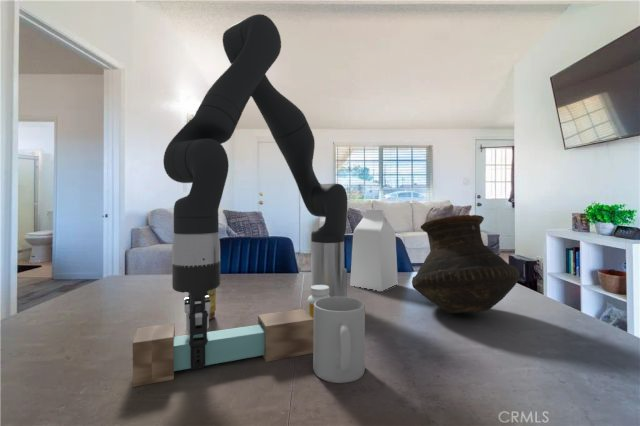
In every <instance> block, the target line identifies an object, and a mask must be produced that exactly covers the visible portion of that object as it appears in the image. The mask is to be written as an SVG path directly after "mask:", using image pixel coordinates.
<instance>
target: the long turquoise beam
mask: <svg viewBox="0 0 640 426" xmlns="http://www.w3.org/2000/svg"><path fill="white" fill-rule="evenodd" d="M198 337H203V334H197V335H194V336H193V338H198ZM207 339H208V342H207V345H205V366H210V365H215V364H220V363H228V362H232V361H237V360H238V361H239V360H243V359H249V358H255V357H259V356H260V357H261V356H263V355H265V328H264V326H263V325H262V324H260V325H258V324H255V325H249V326H247V325H246V326H241V327H233V328H226V329H219V330H212V331H207ZM189 341H190V334H184V335H177V336H176V335H175V337H174V372H176V371H177V372H178V371H182V370H188V369H192V368H191V347H190V345H189Z"/></svg>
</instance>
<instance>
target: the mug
mask: <svg viewBox="0 0 640 426" xmlns="http://www.w3.org/2000/svg"><path fill="white" fill-rule="evenodd" d="M365 332H366V306H365V303H364V301H361V300H359V299H358V298H353V297H350V296H349V297H348V296H347V297H326V298H322V299H319V300H317V301H316V302H315V303H314V353H312V354H313V355H312V356H313V359H312V362H313V363H312V364H313V365H312V368H313V369H312V370H313V373H315V375H316V376H317V377H318V378H319V379H321V380H323V381H325V382H328V383H334V384H335V383H336V384H349V383H353V382H355V381H358V380H359V379H360V378H362V377H363V375H364V373H365V370H366V350H365V349H366V333H365Z"/></svg>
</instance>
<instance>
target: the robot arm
mask: <svg viewBox="0 0 640 426" xmlns="http://www.w3.org/2000/svg"><path fill="white" fill-rule="evenodd" d="M222 45H223V49H224V52H225V53H224V54H225V56H226V57H227V59H228V61H229V63H230V65H229V67H228V68H227V69H225V71H224V72H223V73H222V74H221V75H220V76H219V77H218V78H217V79H216V80H215V81H214V82H213V84H212V85H211V86H210V88H209V89H208V90H207V92H206V93H205V95H204V97H203V99H202V100H201V102H200V105H199V106H198V108H197V110H196V112H195V114H194V116H192V118H191V119H189V121H187V122H186V124H184V126H183V127H182V128H181V129H180V130H179V131H178V132H177V133H176V134H175V135H174V137H172V139H171V140H170V142H169V143H168V145H167V146H166V149H165V151H164V154H163V168H164V171H165V173H166V175H167V176H168V177H169V179H171V180H173V181H175V182H177V183H181V184H191V183H192V184H191V187H190V189H189V190H190V191H189V193H188V194H187V195H185V196H183V197H181V198H178V199H177V200H176V201H175V202H174V206H173V240H172V249H171V253H172V256H171V260H172V261H171V264H172V265H171V267H172V270H171V272H172V274H171V275H172V276H171V277H172V281H171V283H172V289H173V290H174V291H175V292H177V293H189V295H188V294H187V297H185V298H184V313H185V314H186V315H185V318H186V319H185V322H186V323H185V324H186V325H185V327H186V331H187V332H188V333H189V334H188V335H190V341H189V345H190V347H191V368H190V369H192V370H197V369H202V368H204V367H205V366H206V365H205V345H207V342H208V339H207V332H208V329H209V327H210V320H209V310H210V300H209V296H205V292H206V291H208V290H213V289H215V288H216V289H217V288H219V286H221V241H220V236H219V235H220V233H219V231H220V230H219V225H220V222H219V208H220V204H221V202H222V197H223V194H224V190H225V186H226V182H227V178H228V173H229V158H228V154H227V151H226V149H225V148H224V146H223V145H222V144H225V143H227V141H229V140H230V139H231V138H232V136H233V134H234V132H235V129H236V128H237V125H238V124H239V121H240V119H241V117H242V114H243V112H244V110H245V107H246V106H247V104H248V102H249V100H250V99H251V98H252V99H253V102H254V103H255V105H256V106H257V108H258V111H259V113H260V115H261V116H262V118H263V119H264V122H265V123H266V125H267V127H268V129H269V131H270V133H271V136H272V137H273V140H274V141H275V143H276V145H277V148H278V149H279V151H280V153H281V155H282V156H283V158H284V160H285V162H286V163H287V166H288V167H289V170H290V173H291V174H292V177H293V179H294V180H295V183H296V186H297V188H298V191H299V193H300V196H301V198H302V201H303V203H304V206H305V208H306V210H307V211H308V212H309V213H310V214H311V215H312V216H315V217H317V218H318V217H319V218H320V217H321V218H325V219H324V223H323V225H321V226H320V227H319V228H317V229H314V230H312V231H311V233H310V234H311V235H310V240H311V242H310V248H311V249H310V258H311V259H310V264H311V265H310V267H311V268H310V271H311V272H310V287H311V286H314V285H326V286H329V294H328V295H329V296H330V297H348V270H347V268H345V234H346V231H347V222H348V221H347V218H348V194H347V190H346V188H345V187H344V186H343V185H342V184H341V183H320V181H319V180H318V178H317V176H316V174H315V171H314V166H313V161H314V153H315V146H316V145H315V144H316V143H315V136H314V134H313V131H312V128H311V127H310V124H309V122H308V120H307V118H306V116H305V113H304V112H303V111H302V110H301V109H300V108H299V107H298V106H297V105H295V103H293V102H292V101H291V100H289V99H288V98H287V97H286V96H284V95H283V94H282V93H280V91H278V90H277V88H276V87H274V85H273V84H272V83H271V81H270V80H269V78H268V76H267V75H266V74H267V73H268V71H269V69H271V67H272V65H273V64H274V63H275V62H276V60H277V59H278V57H279V56H280V54H281V51H282V50H281V49H282V39H281V35H280V31H279V29H278V28H277V25H276V24H275V23H274V21H273V20H272V19H271V18H270V17H269V16H267V15H265V14H261V13H260V14H259V13H258V14H253V15H250V16H248V17H246V18H244V19H241V21H239V22H236V23H235V24H233V25H231V26H230V27H228V28H227V29H225V31H224V32H223V35H222ZM311 295H312V294H311V293H310V296H311ZM197 334H203V337H198V338H193V336H194V335H197Z"/></svg>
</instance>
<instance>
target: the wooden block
mask: <svg viewBox="0 0 640 426" xmlns="http://www.w3.org/2000/svg"><path fill="white" fill-rule="evenodd" d="M260 324H262V325H263V326H264V328H265V355H262V357H263V359H264V362H265V363H267V362H272V361H278V360H284V359H288V358H294V357H298V356H304V355H308V354H309V355H310V354H313V353H314V319H313V318H312V317H311V316H310V315H309V314H308V313H307V311H305V310H304V309H303V308H299V309H292V310H285V311H277V312H268V313H262V314H258V315H257V325H260Z"/></svg>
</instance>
